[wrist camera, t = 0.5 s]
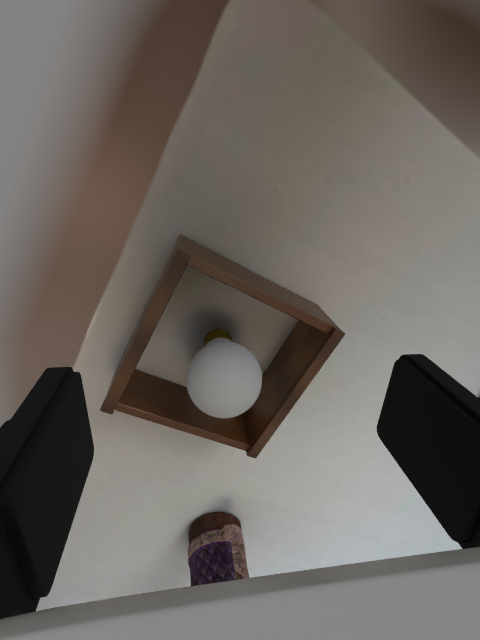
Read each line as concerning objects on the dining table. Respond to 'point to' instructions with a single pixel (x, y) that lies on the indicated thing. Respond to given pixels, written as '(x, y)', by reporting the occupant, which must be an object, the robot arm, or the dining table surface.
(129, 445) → the dining table surface
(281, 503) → the dining table surface
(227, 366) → the light bulb
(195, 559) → the mug
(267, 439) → the brown wooden square frame
